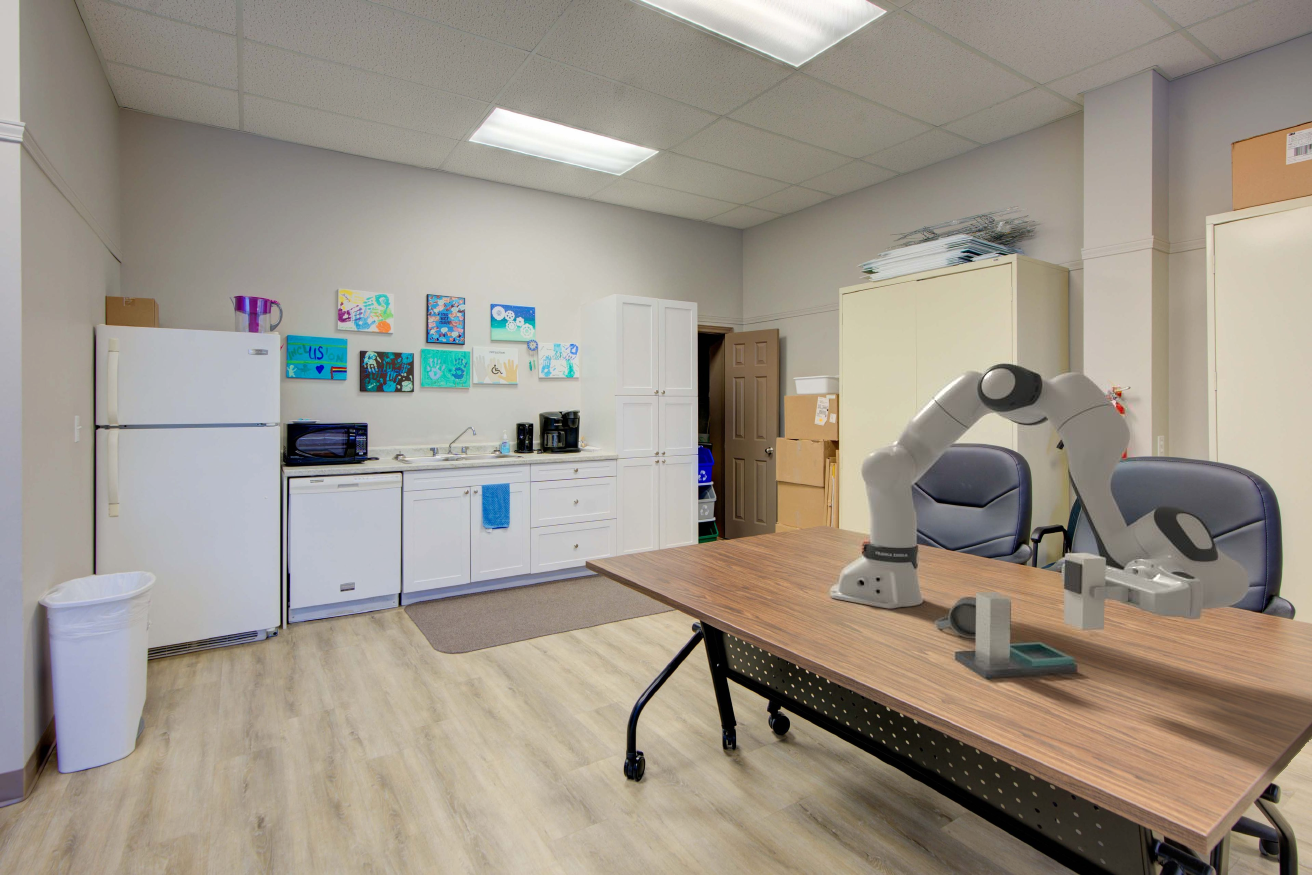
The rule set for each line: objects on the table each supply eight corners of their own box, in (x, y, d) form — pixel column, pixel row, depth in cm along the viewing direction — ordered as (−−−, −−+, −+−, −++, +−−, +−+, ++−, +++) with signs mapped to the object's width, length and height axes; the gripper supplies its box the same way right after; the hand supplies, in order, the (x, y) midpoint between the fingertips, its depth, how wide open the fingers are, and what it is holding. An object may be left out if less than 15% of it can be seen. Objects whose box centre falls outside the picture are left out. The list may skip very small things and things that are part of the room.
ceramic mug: (991, 629, 135) (990, 594, 135) (988, 641, 128) (988, 604, 128) (938, 622, 141) (937, 589, 141) (933, 633, 134) (932, 598, 134)
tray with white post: (985, 678, 110) (986, 603, 110) (954, 659, 119) (955, 589, 119) (1077, 672, 113) (1078, 599, 112) (1040, 653, 122) (1041, 585, 121)
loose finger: (1080, 630, 103) (1082, 558, 103) (1061, 622, 107) (1063, 553, 107) (1103, 629, 104) (1105, 558, 103) (1084, 621, 108) (1086, 552, 107)
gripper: (1101, 553, 117) (1035, 555, 115) (1212, 582, 97) (1133, 586, 95) (1100, 586, 117) (1034, 588, 116) (1210, 622, 97) (1131, 626, 95)
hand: (1079, 587), depth 105 cm, fingers closed on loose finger, 4 cm apart
